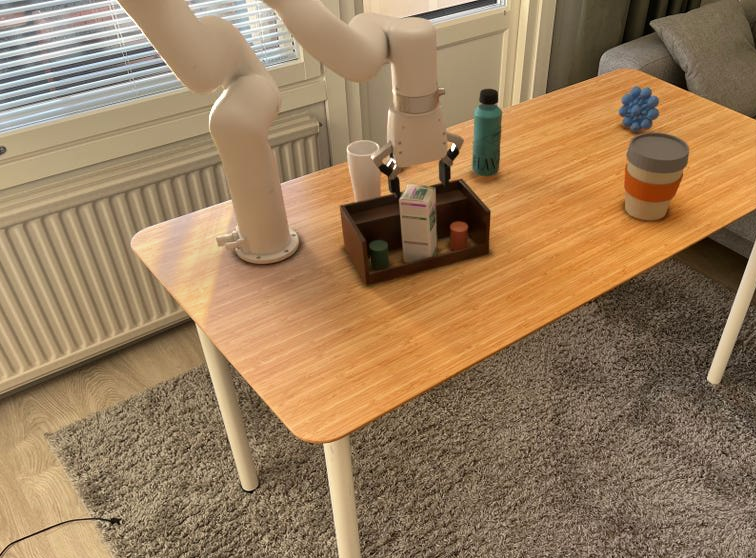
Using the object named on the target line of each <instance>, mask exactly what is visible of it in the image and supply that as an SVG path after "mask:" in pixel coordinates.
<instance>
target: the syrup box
mask: <svg viewBox="0 0 756 558" xmlns="http://www.w3.org/2000/svg"><path fill="white" fill-rule="evenodd" d="M403 191H404V192H403ZM403 191H402V192H403V193H402V195H401V197H400V199H399V205H400V219H401V233H402V246H403V247H402V258H403V263H409V262H413V261H417V260H421V259H424V258H428V257H432V256H436V255H437V252H438V247H439V246H438V239H437V218H436V190H435V187H431V186H430V185H423V184H410V183H407V185H406V187H405V189H404V190H403Z"/></svg>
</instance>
